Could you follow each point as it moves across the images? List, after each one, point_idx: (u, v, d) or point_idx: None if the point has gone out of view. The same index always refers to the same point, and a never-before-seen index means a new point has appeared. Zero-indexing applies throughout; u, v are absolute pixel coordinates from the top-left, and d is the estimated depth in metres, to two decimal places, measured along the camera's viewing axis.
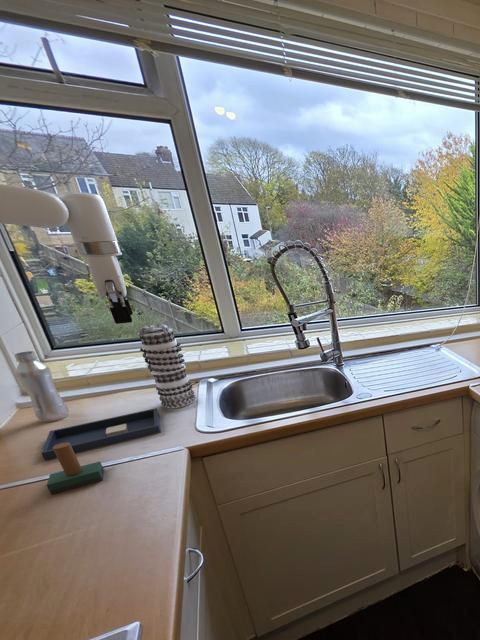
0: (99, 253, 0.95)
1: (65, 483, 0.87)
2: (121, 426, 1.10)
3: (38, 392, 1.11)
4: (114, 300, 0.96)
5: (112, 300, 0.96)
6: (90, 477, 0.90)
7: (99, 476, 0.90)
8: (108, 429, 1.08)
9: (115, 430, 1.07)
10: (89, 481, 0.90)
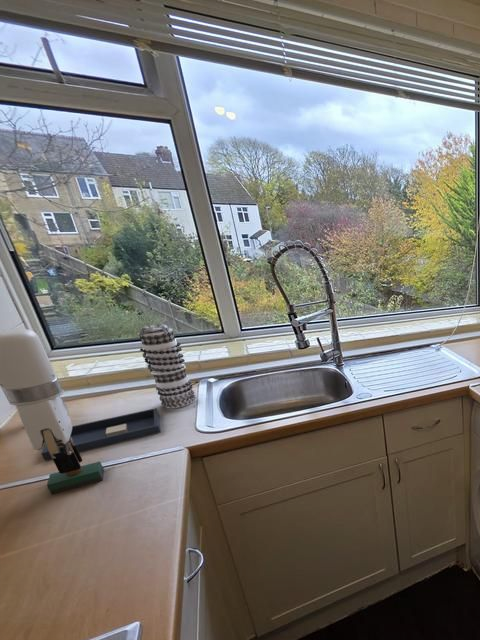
0: (32, 400, 0.79)
1: (65, 483, 0.87)
2: (121, 426, 1.10)
3: None
4: (57, 453, 0.84)
5: (55, 454, 0.83)
6: (90, 477, 0.90)
7: (99, 476, 0.90)
8: (108, 429, 1.08)
9: (115, 430, 1.07)
10: (89, 481, 0.90)
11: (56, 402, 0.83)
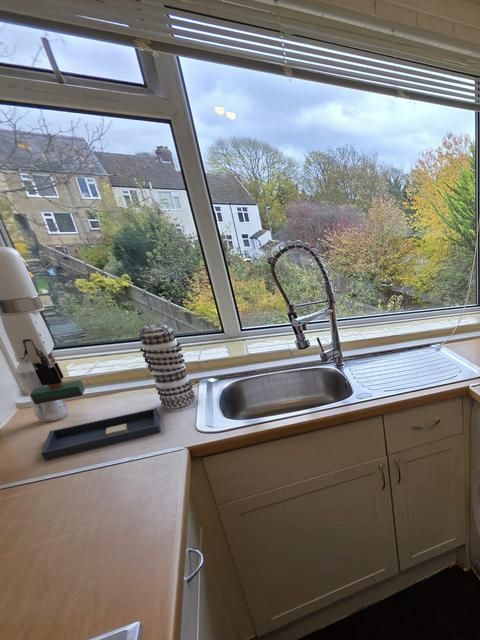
0: (14, 311, 0.87)
1: (47, 395, 0.95)
2: (121, 426, 1.10)
3: None
4: (39, 364, 0.92)
5: (36, 364, 0.91)
6: (71, 392, 0.98)
7: (79, 391, 0.99)
8: (108, 429, 1.08)
9: (115, 430, 1.07)
10: (70, 395, 0.98)
11: (37, 317, 0.91)
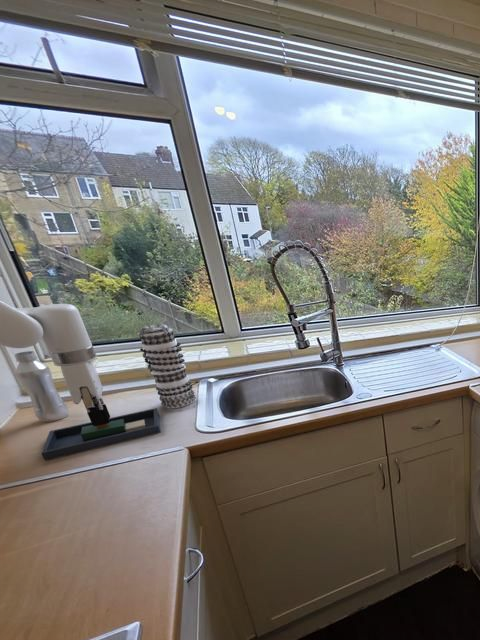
0: (73, 362, 0.97)
1: (96, 434, 1.04)
2: (139, 422, 1.12)
3: (38, 392, 1.11)
4: (92, 408, 1.01)
5: (90, 408, 1.01)
6: (116, 431, 1.07)
7: (123, 430, 1.08)
8: (127, 425, 1.10)
9: (135, 426, 1.10)
10: (115, 433, 1.07)
11: (91, 365, 1.01)
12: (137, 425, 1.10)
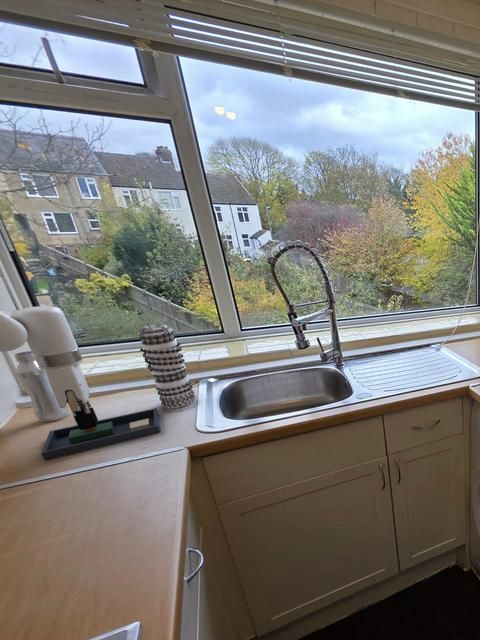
0: (58, 365, 0.95)
1: (83, 437, 1.03)
2: (144, 421, 1.13)
3: (38, 392, 1.11)
4: (78, 412, 1.00)
5: (76, 412, 0.99)
6: (104, 433, 1.06)
7: (112, 433, 1.07)
8: (131, 424, 1.11)
9: (139, 425, 1.10)
10: None
11: (77, 368, 0.99)
12: (141, 424, 1.11)
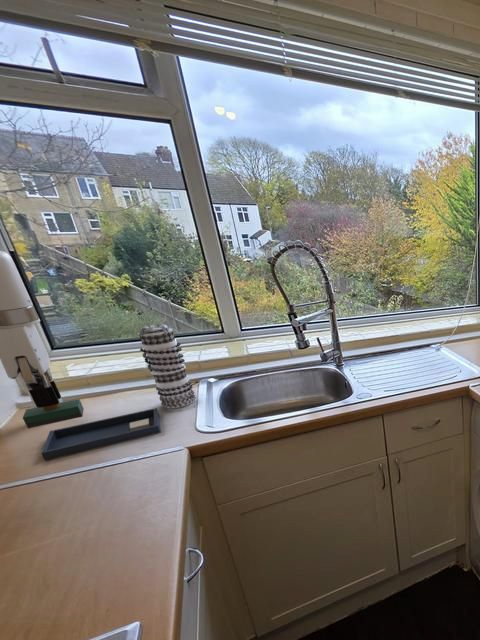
0: (6, 324, 0.76)
1: (42, 417, 0.84)
2: (144, 421, 1.13)
3: None
4: (33, 384, 0.80)
5: (31, 384, 0.80)
6: (69, 413, 0.86)
7: (79, 412, 0.87)
8: (131, 424, 1.11)
9: (139, 425, 1.10)
10: (68, 416, 0.86)
11: (32, 330, 0.80)
12: (141, 424, 1.11)
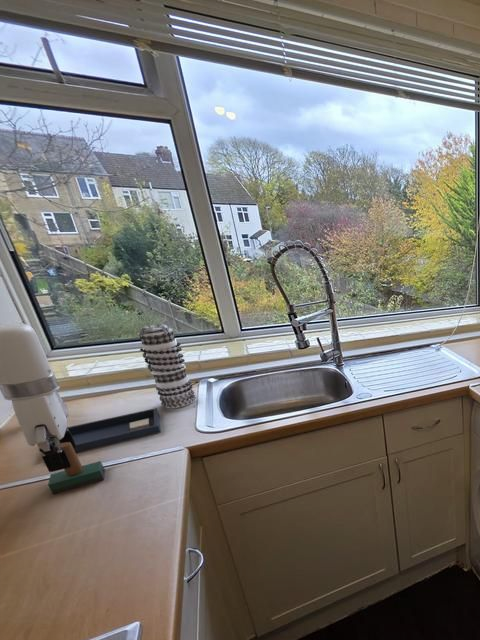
0: (28, 395, 0.79)
1: (66, 483, 0.87)
2: (144, 421, 1.13)
3: None
4: (46, 450, 0.80)
5: (43, 450, 0.80)
6: (92, 477, 0.90)
7: (100, 475, 0.91)
8: (131, 424, 1.11)
9: (139, 425, 1.10)
10: (90, 481, 0.90)
11: (52, 398, 0.82)
12: (141, 424, 1.11)
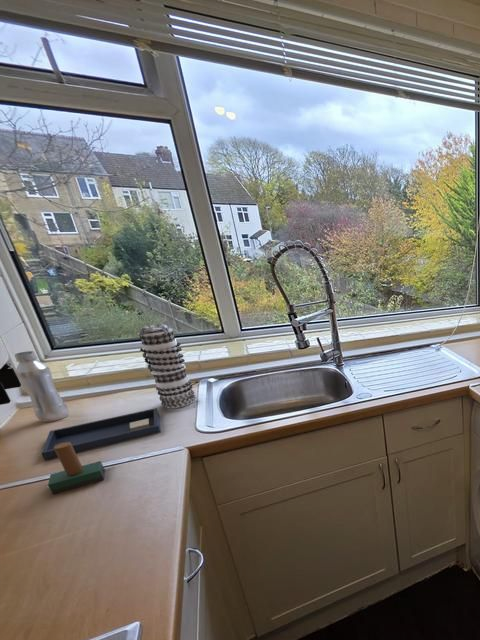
0: None
1: (66, 483, 0.87)
2: (144, 421, 1.13)
3: (38, 392, 1.11)
4: None
5: None
6: (92, 477, 0.90)
7: (100, 475, 0.91)
8: (131, 424, 1.11)
9: (139, 425, 1.10)
10: (90, 481, 0.90)
11: None
12: (141, 424, 1.11)
